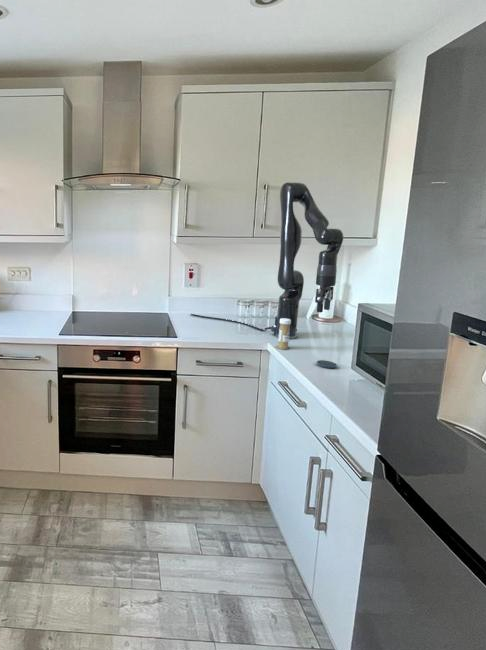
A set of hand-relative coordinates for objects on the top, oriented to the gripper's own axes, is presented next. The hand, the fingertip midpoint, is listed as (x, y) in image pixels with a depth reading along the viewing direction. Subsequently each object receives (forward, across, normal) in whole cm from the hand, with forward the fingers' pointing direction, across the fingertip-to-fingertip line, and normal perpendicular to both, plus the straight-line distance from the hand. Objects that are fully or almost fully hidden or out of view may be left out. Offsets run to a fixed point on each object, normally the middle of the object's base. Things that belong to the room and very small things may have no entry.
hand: (323, 310), depth 185 cm
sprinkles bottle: (+18, +10, -12) cm, 24 cm away
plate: (+18, +20, +10) cm, 29 cm away
